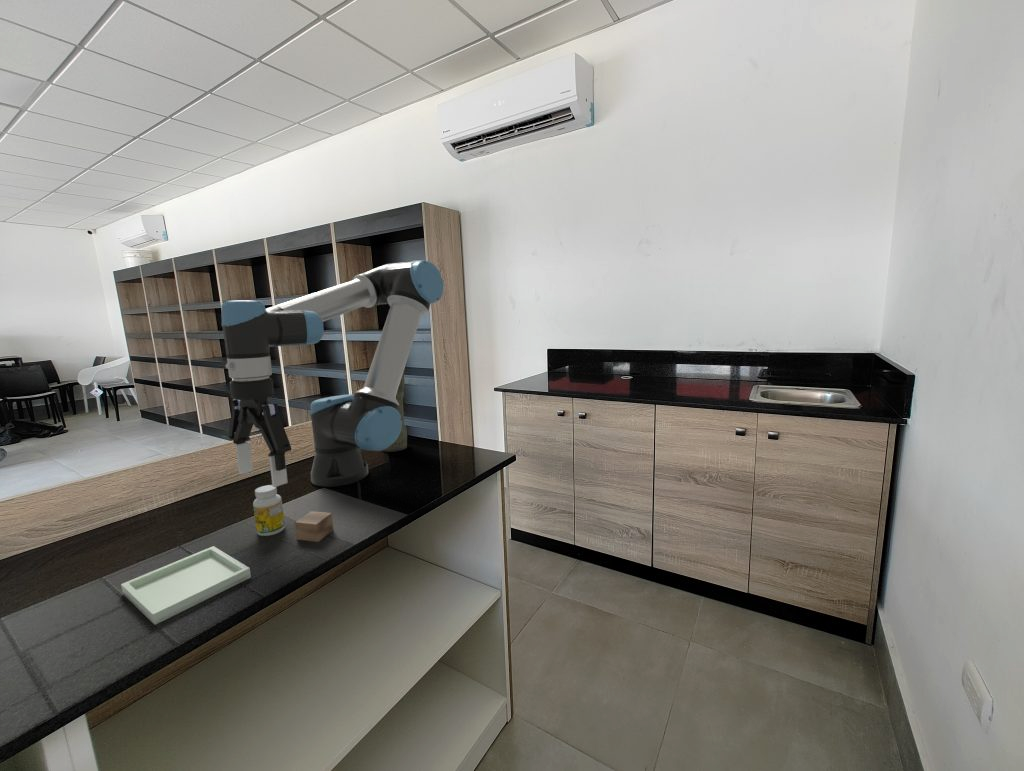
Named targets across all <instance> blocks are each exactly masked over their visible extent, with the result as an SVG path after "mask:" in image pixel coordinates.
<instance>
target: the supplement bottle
mask: <svg viewBox="0 0 1024 771" xmlns="http://www.w3.org/2000/svg"><path fill="white" fill-rule="evenodd" d="M277 493H278V489H277V487H272V484H267V485H262V486H260V487H257V488H255V489H254V496H255V499H254V500H253V503H252V508H253V514H254V520H255V528H256V533H257V534H258V536H261V537H264V536H265V537H268V536H270V537H271V536H273V535H276V534H279V533H281V532H283V530H285V527H286V523H285V522H286V521H285V515H284V514H285V513H284V507H283V499H282V496H281V495H280V494H277ZM257 534H256V535H257Z"/></svg>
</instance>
